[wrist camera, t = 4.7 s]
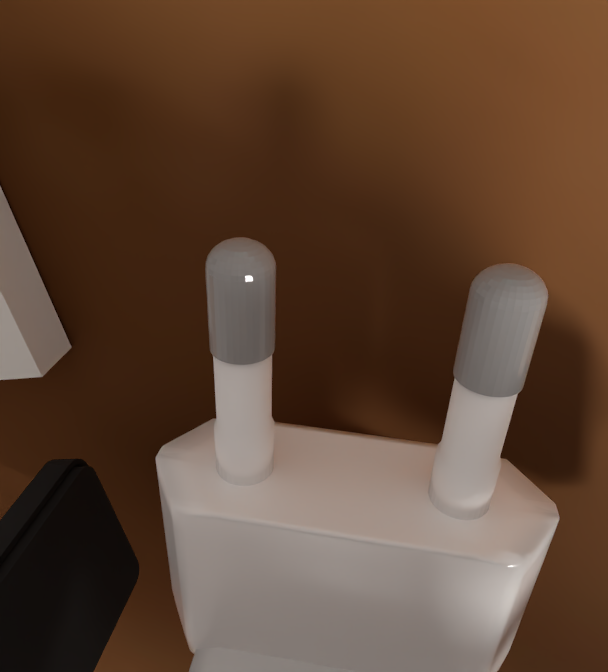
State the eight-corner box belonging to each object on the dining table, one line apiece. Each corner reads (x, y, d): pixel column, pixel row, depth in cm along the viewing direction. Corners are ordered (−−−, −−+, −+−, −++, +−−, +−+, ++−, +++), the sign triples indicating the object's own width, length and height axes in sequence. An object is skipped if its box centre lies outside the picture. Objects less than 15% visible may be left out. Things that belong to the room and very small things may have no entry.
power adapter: (224, 152, 8) (-48, 366, 4) (564, 179, 8) (822, 483, 3) (240, 610, 14) (144, 941, 9) (438, 647, 14) (451, 1022, 9)
